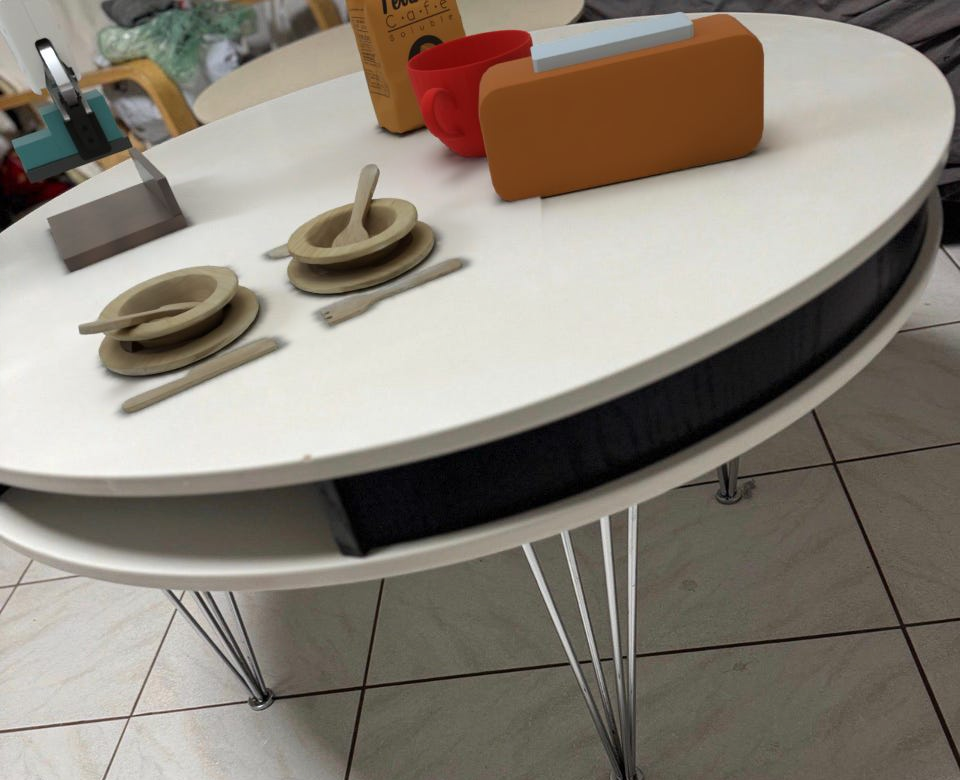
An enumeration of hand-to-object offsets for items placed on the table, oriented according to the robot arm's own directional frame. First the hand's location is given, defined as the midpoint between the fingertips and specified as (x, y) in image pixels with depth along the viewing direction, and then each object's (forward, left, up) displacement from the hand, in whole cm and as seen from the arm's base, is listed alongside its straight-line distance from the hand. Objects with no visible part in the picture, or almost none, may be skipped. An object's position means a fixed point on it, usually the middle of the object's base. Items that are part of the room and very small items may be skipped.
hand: (92, 148), depth 89 cm
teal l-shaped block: (-2, -1, -1) cm, 2 cm away
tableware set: (+24, -26, -9) cm, 37 cm away
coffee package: (+34, +17, -9) cm, 39 cm away
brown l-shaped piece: (-1, -1, -9) cm, 9 cm away
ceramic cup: (+41, 0, -9) cm, 42 cm away
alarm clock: (+55, -11, -9) cm, 57 cm away
